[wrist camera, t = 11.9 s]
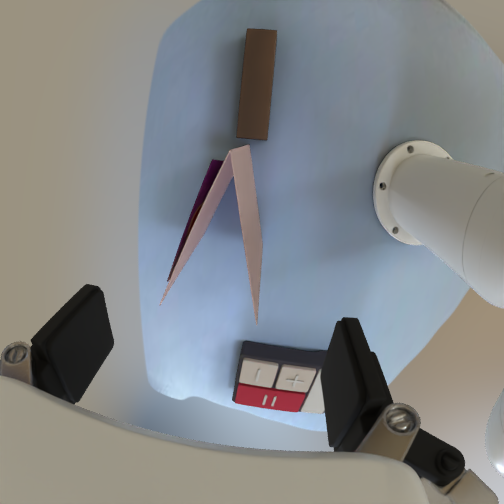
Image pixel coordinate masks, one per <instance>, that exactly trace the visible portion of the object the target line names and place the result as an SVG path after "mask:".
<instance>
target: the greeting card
mask: <svg viewBox="0 0 504 504" xmlns="http://www.w3.org/2000/svg"><path fill="white" fill-rule="evenodd" d="M233 175H234V181H235V188H236V195H237V201H238V208H239V215H240V221H241V228H242V235H243V241H244V248H245V255H246V261H247V268H248V274H249V281H250V287H251V294H252V300H253V307H254V313H255V319H256V325H257V318H258V305H259V291H260V277H261V263H262V249H263V243H262V235H261V227H260V219H259V212H258V204H257V196H256V189H255V181H254V174H253V166H252V159H251V152H250V144H249V145H245V146H242V147H238V148H235V149H232V150H230V151H229V153H228V155H227V157H226V159H225V161H220V160H214V159H212V161H211V163H210V166H209V168H208V171H207V173H206V176H205V178H204V181H203V183H202V186H201V188H200V191H199V193H198V196H197V198H196V201H195V204H194V206H193V209H192V212H191V214H190V217H189V220H188V222H187V225H186V228H185V231H184V233H183V236H182V239H181V242H180V245H179V247H178V250H177V253H176V256H175V259H174V262H173V265H172V268H171V271H170V274H169V277H168V280H167V282H168V281H169V280H170V281H169V283H168V285H167V288H166V290H165V293H164V295H163V298H162V300H161V303H162V301H163V300H164V298H165V296H166V295H167V293H168V291H169V290H170V288H171V286H172V285H173V283H174V282H175V280H176V278H177V277H178V275H179V273H180V272H181V270H182V269H183V267H184V265H185V264H186V262H187V261H188V259H189V257H190V256H191V254H192V253H193V251H194V249H195V248H196V246H197V245H198V243H199V242H200V240H201V239H202V237H203V235H204V234H205V232H206V229H207V227H208V225H209V223H210V221H211V219H212V217H213V215H214V213H215V211H216V209H217V207H218V205H219V203H220V201H221V199H222V197H223V195H224V193H225V191H226V189H227V187H228V185H229V183H230V181H231V179H232V177H233ZM161 303H160V305H161ZM160 305H159V306H160Z"/></svg>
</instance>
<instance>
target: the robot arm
mask: <svg viewBox="0 0 504 504" xmlns="http://www.w3.org/2000/svg"><path fill="white" fill-rule="evenodd" d="M407 147H408V149H409V150H408V151H407ZM380 183H382V186H381V187H379V185H380ZM373 201H374V208H375V211H376V214H377V217H378V219H379V221H380V223H381V225H382V226H383V227H384V228H385V230H386V231H387V232H388V233H389V234H390V235H391V236H392V237H394V238H395V239H397V240H398V241H400V242H403V243H405V244H409V245H424V246H425V247H426V248H428V249H429V250H430V251H431V252H432V253H434V254H435V255H436V256H437V257H438V258H439V259H441V260H442V261H443V262H444V263H445V264H446V265H447V266H448V267H450V268H451V269H452V270H453V271H454V272H455V273H456V274H457V275H458V276H459V277H460V278H462V279H463V280H464V281H465V282H466V283H467V284H468V285H469V286H470V287H471V288H472V289H474V290H475V291H476V292H477V293H478V294H479V295H480V296H481V297H482V298H483V299H484V300H486V301H487V302H488V303H490V304H492V305H494V306H497V307H499V308H504V173H502V172H498V171H495V170H491V169H488V168H484V167H480V166H476V165H472V164H468V163H464V162H460V161H456V160H453V159H452V158H451V156H450V155H449V154H448V153H447V152H446V151H445V150H444V149H442V148H441V147H440V146H438V145H436V144H434V143H432V142H428V141H422V140H413V141H408V142H405V143H402V144H400V145H398V146H397V147H395V148H394V149H392V150H391V151H390V152H389V153H388V154H387V156H386V157H385V158H384V159H383V161H382V163H381V164H380V166H379V168H378V171H377V173H376V176H375V181H374V186H373ZM393 228H394V229H393ZM31 342H32V346H31V347H30V346H29V345H28V344H26V343H25V342H21V341H20V342H14V343H11V344H10V345H8V346H7V347H6V348H5V349H4V350H3V352H2V354H1V360H0V504H498V503H499V502H498V498H497V496H496V494H495V493H494V492H493V491H492V490H491V489H490V488H489V487H488V486H487V485H486V484H485V483H484V482H483V481H482V480H481V479H480V478H479V477H478V476H477V475H476V474H475V473H474V472H473V471H472V470H471V469H469V470H465V468H464V467H465V460H464V457H463V455H462V453H461V452H460V451H459V450H458V449H456V448H455V447H453V446H451V445H449V444H447V443H445V442H444V441H442V440H440V439H438V438H436V437H435V436H433V435H431V434H429V433H428V432H426V431H424V430H422V429H421V428H420V424H421V422H420V417H419V415H418V413H417V412H416V410H415V409H414V408H412V407H411V406H409V405H406V404H404V403H393V400H392V397H391V394H390V391H389V389H388V386H387V383H386V380H385V377H384V375H383V372H382V369H381V366H380V364H379V361H378V358H377V356H376V354H375V353H374V352H371V351H370V348H369V346H368V343H367V340H366V338H365V335H364V333H363V330H362V327H361V325H360V322H359V320H358V319H357V318H346V317H343V318H342V320H341V321H337V323H336V326H335V329H334V332H333V335H332V339H331V342H330V345H329V348H328V351H327V354H326V357H325V360H324V363H323V366H322V369H321V373H320V379H321V386H322V393H323V401H324V408H325V416H326V424H327V432H328V441H329V446H330V447H334V452H311V451H310V452H309V451H307V452H306V451H282V450H266V449H254V448H244V447H235V446H227V445H220V444H214V443H207V442H202V441H196V440H191V439H186V438H181V437H176V436H172V435H167V434H163V433H159V432H155V431H151V430H148V429H144V428H140V427H137V426H133V425H130V424H127V423H124V422H120V421H117V420H114V419H111V418H108V417H105V416H103V415H100V414H97V413H94V412H92V411H89V410H86V409H84V408H81V407H79V406H76V405H74V404H75V403H76V402H79V401H80V399H81V398H82V396H83V394H84V393H85V391H86V389H87V388H88V386H89V384H90V383H91V381H92V380H93V378H94V376H95V375H96V373H97V372H98V370H99V368H100V367H101V365H102V364H103V362H104V360H105V359H106V357H107V356H108V354H109V353H110V351H111V350H112V348H113V345H114V339H113V335H112V331H111V327H110V323H109V318H108V313H107V308H106V303H105V298H104V294H103V291H101V289H100V288H99V287H98V286H94V285H89V284H86V285H85V286H83V287H82V288H81V289H80V290H79V291H78V292H77V293H76V294H75V295H74V296H73V297H72V298H71V299H70V300H69V301H68V302H67V303H66V304H65V305H64V306H63V307H62V308H61V309H60V310H59V311H58V312H57V313H56V314H55V315H54V316H53V317H52V318H51V319H50V320H49V321H48V322H47V323H46V324H45V325H44V326H43V327H42V328H41V329H40V330H39V331H38V332H37V333H36V335H35V336H34V337H33V338H32V339H31ZM485 447H486V452H487V456H488V458H489V461H490V463H491V465H492V466H493V468H494V469H495V470H496V471H497V472H498V473H499V474H500V475H501V476H502V477H504V389H503V391H502V393H501V394H500V396H499V398H498V400H497V401H496V403H495V405H494V407H493V409H492V412H491V414H490V417H489V420H488V423H487V427H486V434H485Z"/></svg>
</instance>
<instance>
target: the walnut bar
mask: <svg viewBox="0 0 504 504" xmlns="http://www.w3.org/2000/svg"><path fill="white" fill-rule="evenodd" d="M276 41H277V31H276V30H265V29H247V33H246V42H245V52H244V61H243V71H242V81H241V92H240V102H239V113H238V124H237V136H236V137H237V138H246V139H258V140H267V138H268V128H269V117H270V106H271V96H272V85H273V74H274V63H275V52H276Z"/></svg>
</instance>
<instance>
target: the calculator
mask: <svg viewBox="0 0 504 504" xmlns="http://www.w3.org/2000/svg"><path fill="white" fill-rule="evenodd" d="M326 354H327V351H323V350H321V351H318V352H310V351H303V350H296V349H289V348H283V347H277V346H271V345H265V344H259V343H254V342H248V341H244V342H243V345H242V349H241V354H240V359H239V365H238V370H237V376H236V381H235V386H234V392H233V397H232V401H234V402H235V403H237V404H242V405H248V406H254V407H260V408H267V409H274V410H281V411H289V412H298V411H299V412H307V413H318V414H322V413H325V408H324V401H323V393H322V386H321V379H320V373H321V369H322V366H323V363H324V360H325V357H326Z"/></svg>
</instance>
